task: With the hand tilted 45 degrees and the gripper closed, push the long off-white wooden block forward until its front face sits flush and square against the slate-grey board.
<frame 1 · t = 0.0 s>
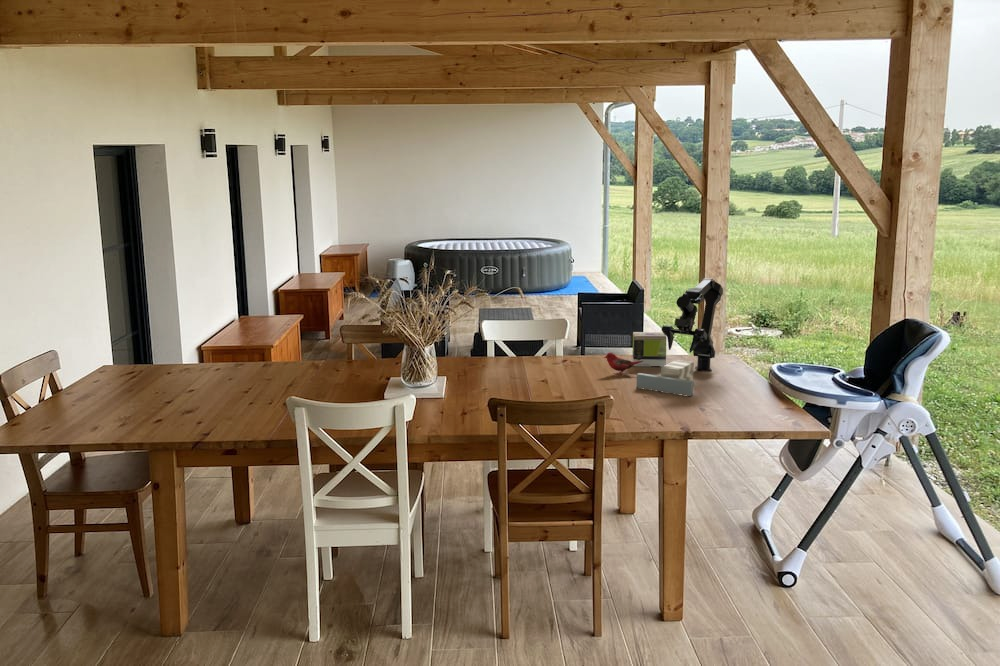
hand: (679, 350, 370), 15 cm above the table, tool tilted 35°, fingers open, 9 cm apart
board: (664, 391, 363), on the table
block: (676, 385, 374), on the table
tea box: (648, 365, 408), on the table
decorative bird figurine: (623, 374, 390), on the table
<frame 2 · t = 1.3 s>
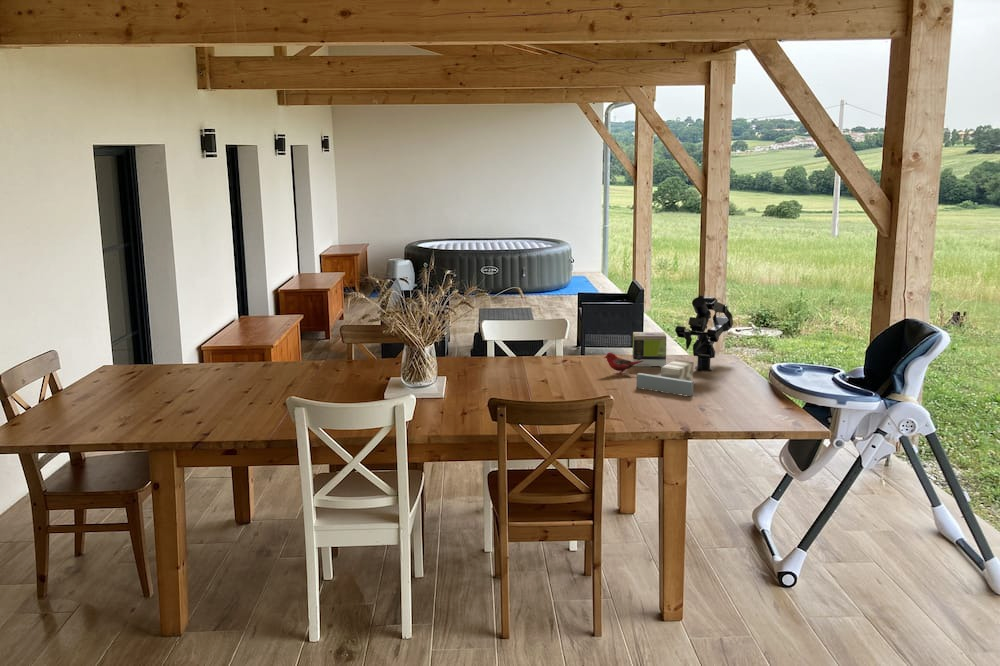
hand: (691, 349, 383), 13 cm above the table, tool tilted 45°, fingers open, 4 cm apart
nothing on the table moved.
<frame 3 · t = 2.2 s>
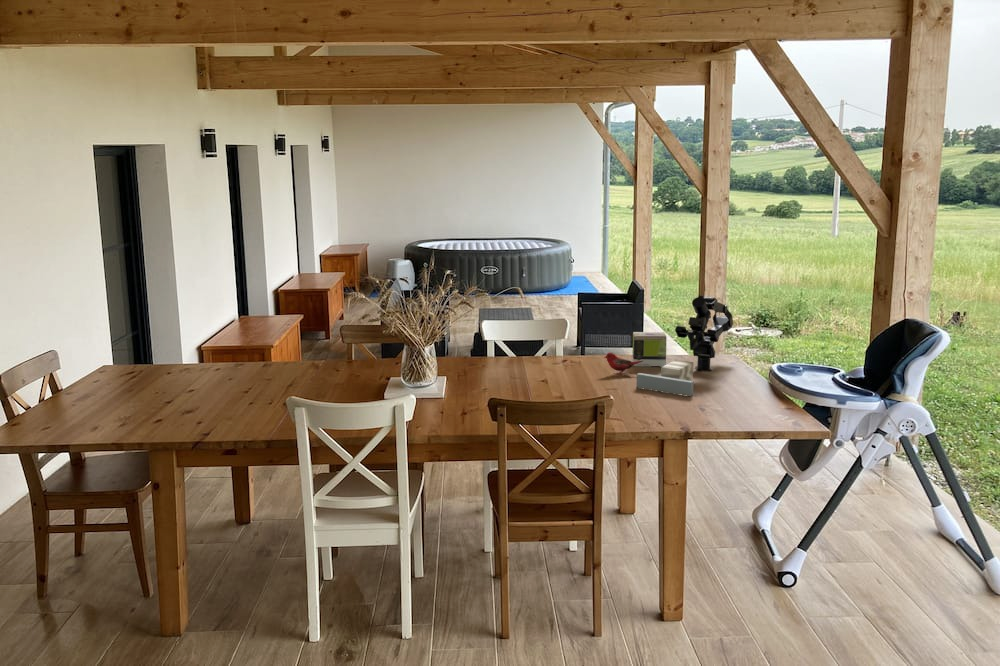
hand: (691, 349, 383), 13 cm above the table, tool tilted 45°, fingers closed
nothing on the table moved.
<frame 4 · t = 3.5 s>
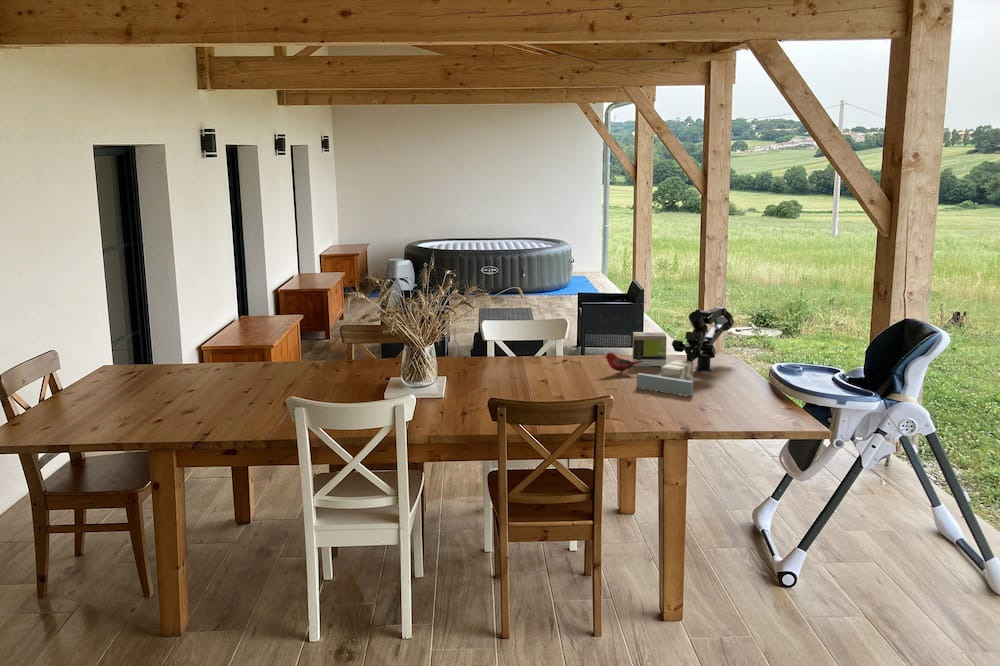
hand: (687, 363, 382), 7 cm above the table, tool tilted 45°, fingers closed
nothing on the table moved.
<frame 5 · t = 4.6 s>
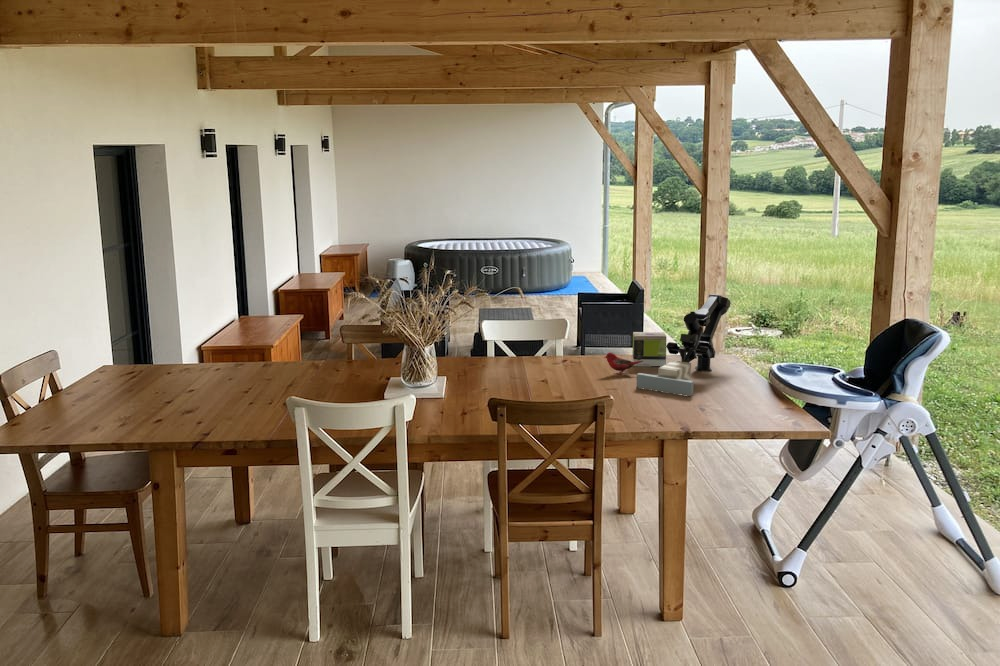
hand: (682, 366, 377), 7 cm above the table, tool tilted 45°, fingers closed, pressing on block
block: (674, 386, 372), on the table, touching gripper
everything else where it was.
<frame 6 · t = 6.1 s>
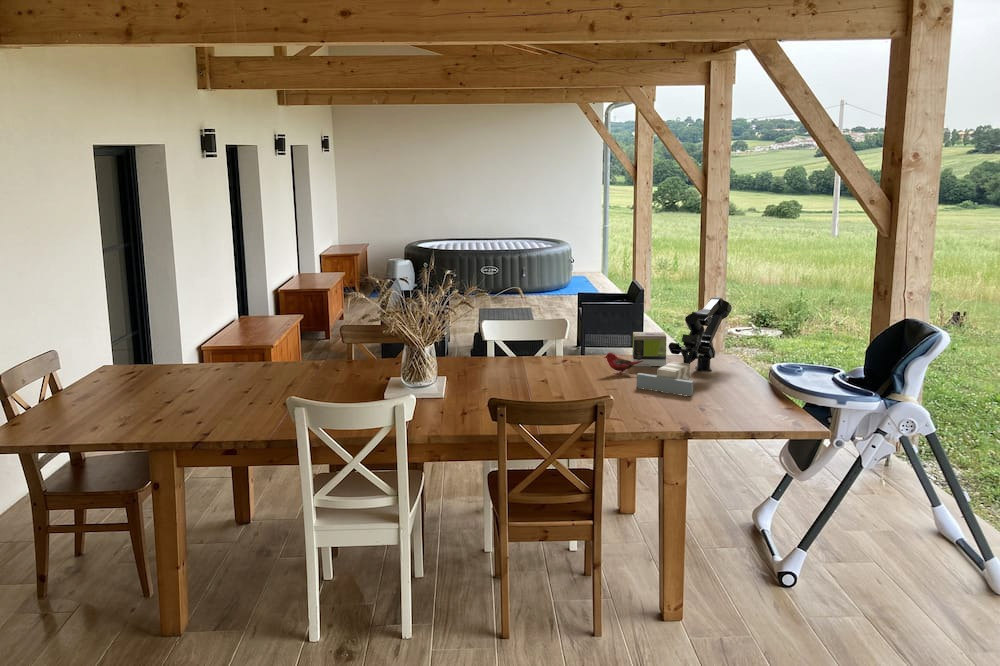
hand: (684, 366, 379), 6 cm above the table, tool tilted 45°, fingers closed
block: (673, 387, 370), on the table
everything else where it was.
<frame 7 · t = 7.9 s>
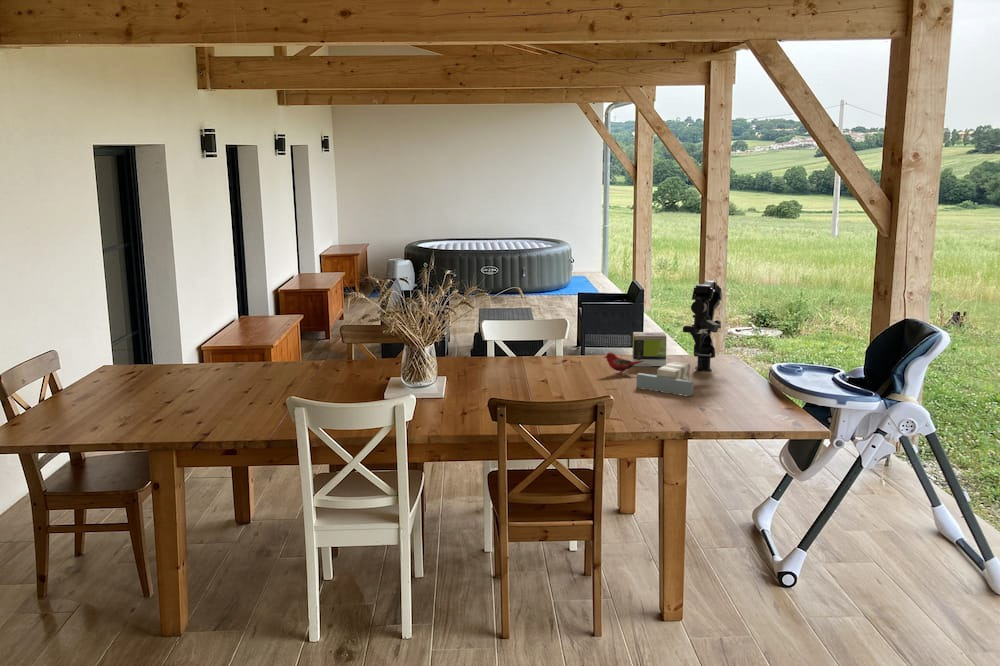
hand: (698, 348, 383), 13 cm above the table, tool pointing down, fingers closed
nothing on the table moved.
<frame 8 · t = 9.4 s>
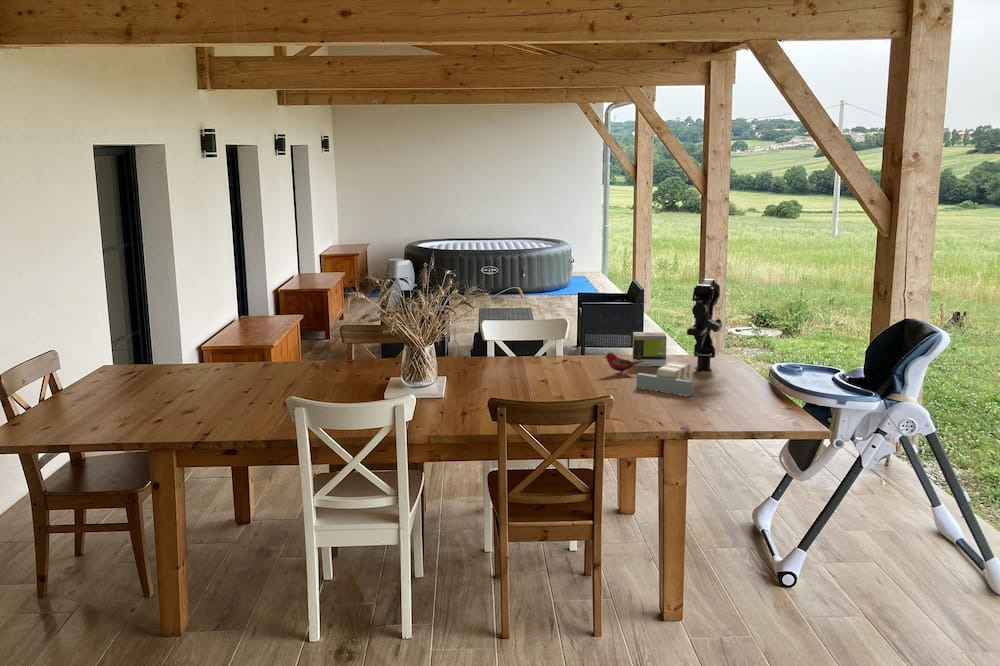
hand: (700, 348, 384), 13 cm above the table, tool pointing down, fingers closed
nothing on the table moved.
at the end: block 1.1 cm from the target spot on the table beside the board, on the table; block tilted 0° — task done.
